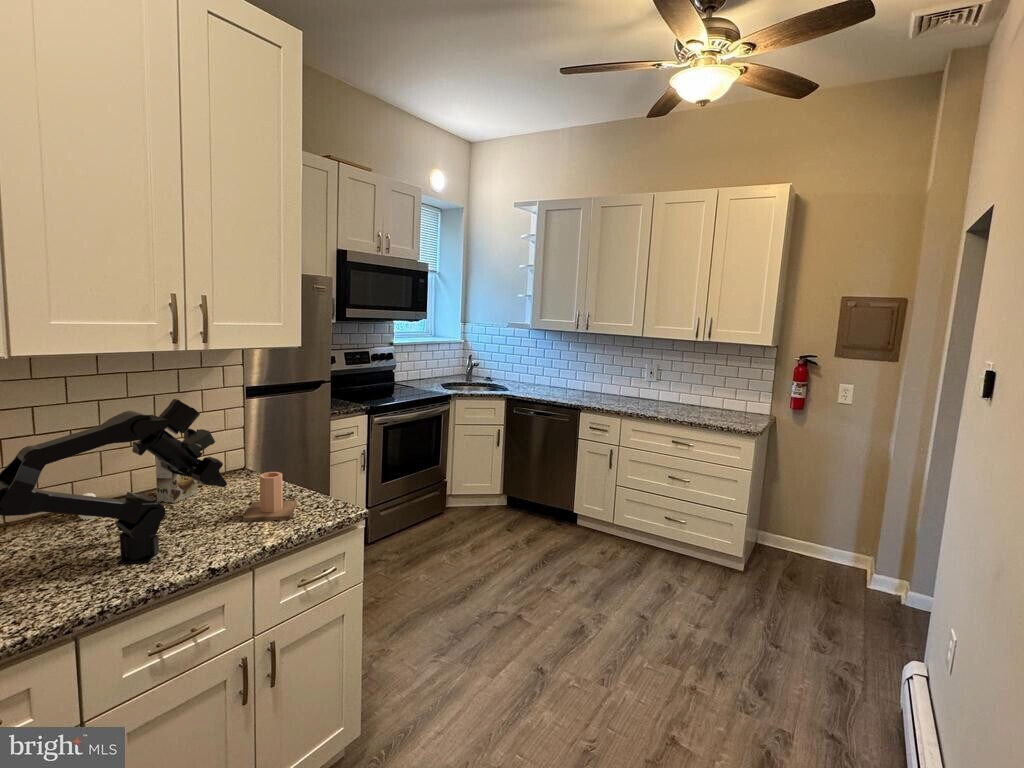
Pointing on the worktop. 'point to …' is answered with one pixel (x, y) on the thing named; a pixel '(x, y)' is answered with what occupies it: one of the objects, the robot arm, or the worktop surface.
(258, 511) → the post stand
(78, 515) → the muffin
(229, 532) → the worktop surface
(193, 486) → the coffee box
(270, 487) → the terracotta collar
